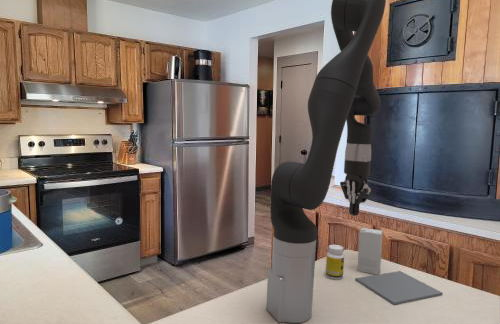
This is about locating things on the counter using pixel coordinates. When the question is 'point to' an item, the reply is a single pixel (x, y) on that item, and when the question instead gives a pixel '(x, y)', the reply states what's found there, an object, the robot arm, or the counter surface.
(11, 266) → the counter surface
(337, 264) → the supplement bottle
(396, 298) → the slate mat
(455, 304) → the counter surface
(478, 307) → the counter surface
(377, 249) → the skincare box
